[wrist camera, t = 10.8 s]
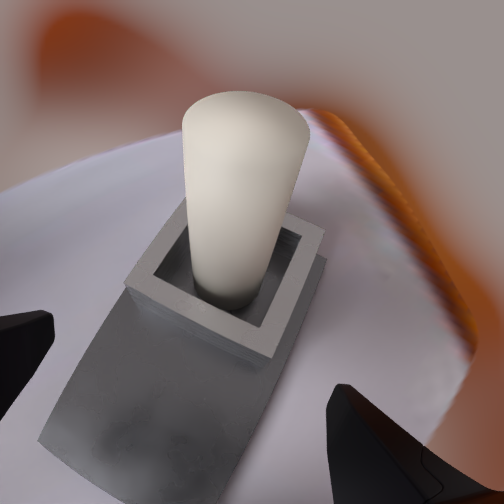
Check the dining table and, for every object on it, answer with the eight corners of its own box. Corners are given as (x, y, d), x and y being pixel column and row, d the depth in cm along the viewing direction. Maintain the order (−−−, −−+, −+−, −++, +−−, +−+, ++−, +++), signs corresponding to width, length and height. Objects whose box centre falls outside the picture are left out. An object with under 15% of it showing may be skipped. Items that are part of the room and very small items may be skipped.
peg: (233, 324, 19) (261, 189, 9) (179, 281, 20) (155, 126, 10) (274, 274, 21) (330, 126, 11) (222, 237, 22) (237, 80, 12)
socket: (196, 532, 13) (192, 556, 9) (44, 440, 14) (12, 440, 11) (322, 265, 23) (341, 235, 20) (190, 206, 24) (188, 169, 21)
